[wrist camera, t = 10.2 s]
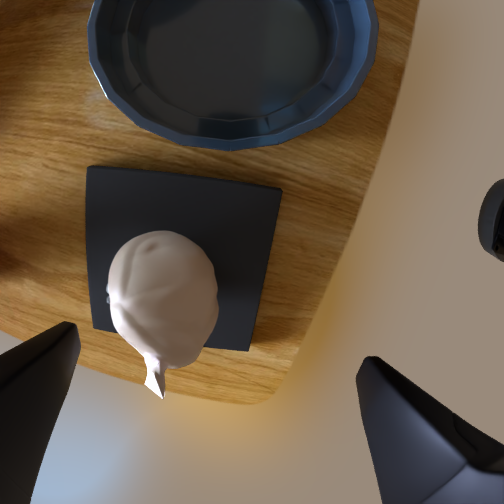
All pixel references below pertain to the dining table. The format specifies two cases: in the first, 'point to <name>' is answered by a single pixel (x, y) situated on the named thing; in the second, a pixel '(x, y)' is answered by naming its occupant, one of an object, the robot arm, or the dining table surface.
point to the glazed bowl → (231, 65)
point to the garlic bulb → (163, 301)
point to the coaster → (192, 227)
